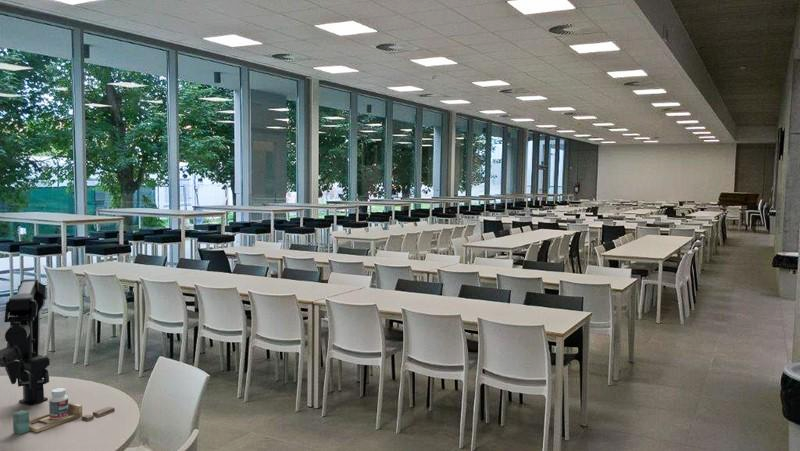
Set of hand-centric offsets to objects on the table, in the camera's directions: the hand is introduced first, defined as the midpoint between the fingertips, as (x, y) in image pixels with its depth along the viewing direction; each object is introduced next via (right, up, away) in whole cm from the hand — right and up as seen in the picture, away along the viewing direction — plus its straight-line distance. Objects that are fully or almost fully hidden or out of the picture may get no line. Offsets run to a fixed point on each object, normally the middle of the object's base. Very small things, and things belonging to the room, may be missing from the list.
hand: (22, 386), depth 197 cm
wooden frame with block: (+7, -12, +1) cm, 14 cm away
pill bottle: (+8, -11, +5) cm, 15 cm away
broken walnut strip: (+19, -12, +9) cm, 24 cm away
